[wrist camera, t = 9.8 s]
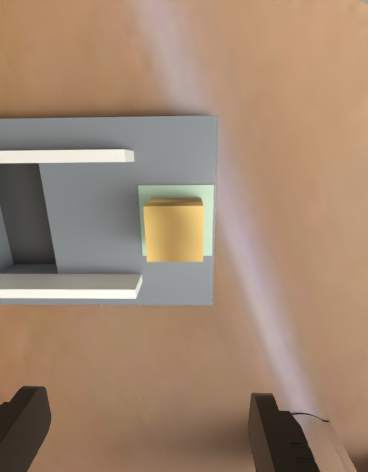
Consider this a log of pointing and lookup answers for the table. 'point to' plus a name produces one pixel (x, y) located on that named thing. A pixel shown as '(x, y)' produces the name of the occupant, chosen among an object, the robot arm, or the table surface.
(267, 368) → the table surface
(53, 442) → the table surface
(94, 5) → the table surface
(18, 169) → the walled pit deck
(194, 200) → the mustard block
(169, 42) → the table surface
